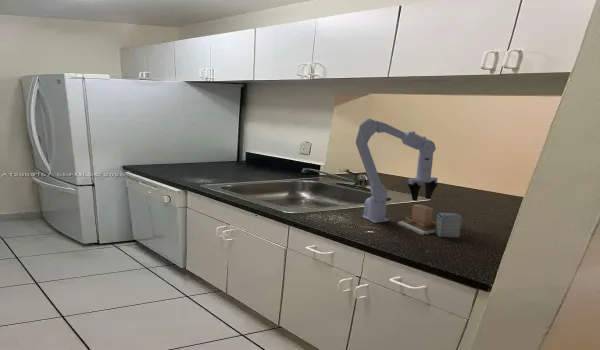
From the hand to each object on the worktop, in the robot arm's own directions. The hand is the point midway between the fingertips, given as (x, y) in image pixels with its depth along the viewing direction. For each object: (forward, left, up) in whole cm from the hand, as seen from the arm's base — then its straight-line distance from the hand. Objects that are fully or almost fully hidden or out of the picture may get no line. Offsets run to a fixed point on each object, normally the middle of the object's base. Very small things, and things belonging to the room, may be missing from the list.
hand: (421, 199), depth 150 cm
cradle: (+5, -4, -10) cm, 12 cm away
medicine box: (+16, -1, -11) cm, 19 cm away
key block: (+5, -4, -9) cm, 11 cm away
